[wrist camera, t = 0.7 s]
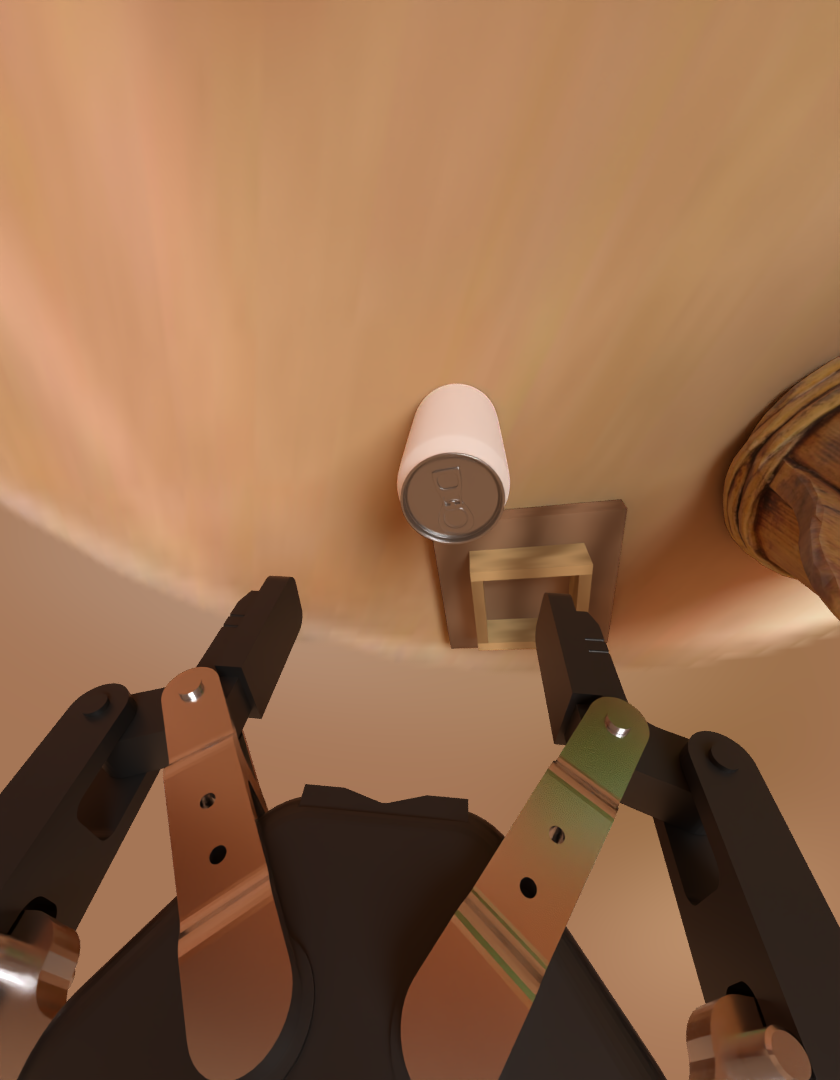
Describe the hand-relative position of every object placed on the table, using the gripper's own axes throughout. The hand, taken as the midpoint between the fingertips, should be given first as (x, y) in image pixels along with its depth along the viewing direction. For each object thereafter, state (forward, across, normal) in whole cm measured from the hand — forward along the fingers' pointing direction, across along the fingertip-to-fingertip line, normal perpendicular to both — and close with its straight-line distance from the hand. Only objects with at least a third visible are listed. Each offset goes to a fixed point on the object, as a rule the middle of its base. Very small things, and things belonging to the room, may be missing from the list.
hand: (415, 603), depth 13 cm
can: (+22, -1, +2) cm, 22 cm away
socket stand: (+22, -8, +17) cm, 28 cm away
